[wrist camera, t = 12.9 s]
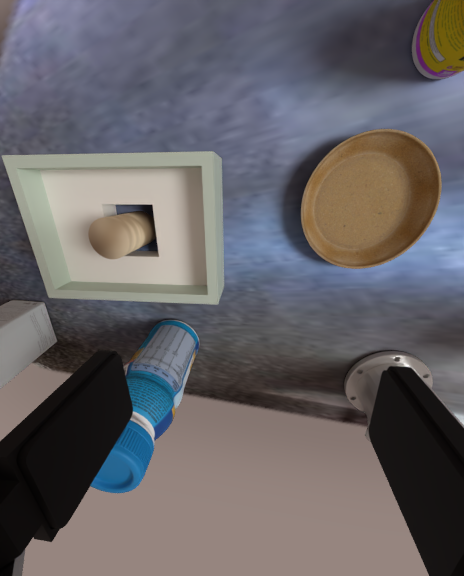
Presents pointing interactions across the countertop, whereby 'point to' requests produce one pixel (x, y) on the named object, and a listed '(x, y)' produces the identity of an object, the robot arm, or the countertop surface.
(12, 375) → the skincare box
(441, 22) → the supplement bottle
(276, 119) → the countertop surface
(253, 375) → the countertop surface
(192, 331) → the beverage bottle
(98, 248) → the peg
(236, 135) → the countertop surface
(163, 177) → the tray
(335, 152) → the plant saucer
